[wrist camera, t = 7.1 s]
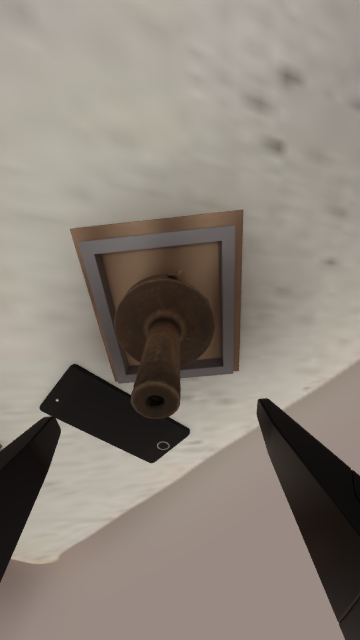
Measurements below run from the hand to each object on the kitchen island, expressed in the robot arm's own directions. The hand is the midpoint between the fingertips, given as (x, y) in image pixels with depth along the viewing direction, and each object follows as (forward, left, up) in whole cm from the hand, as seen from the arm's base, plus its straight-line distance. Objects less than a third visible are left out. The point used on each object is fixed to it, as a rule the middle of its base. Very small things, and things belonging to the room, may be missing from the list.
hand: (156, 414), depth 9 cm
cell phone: (+8, +15, -14) cm, 22 cm away
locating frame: (0, 0, -12) cm, 12 cm away
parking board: (0, 0, -13) cm, 13 cm away
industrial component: (0, 0, -12) cm, 12 cm away
